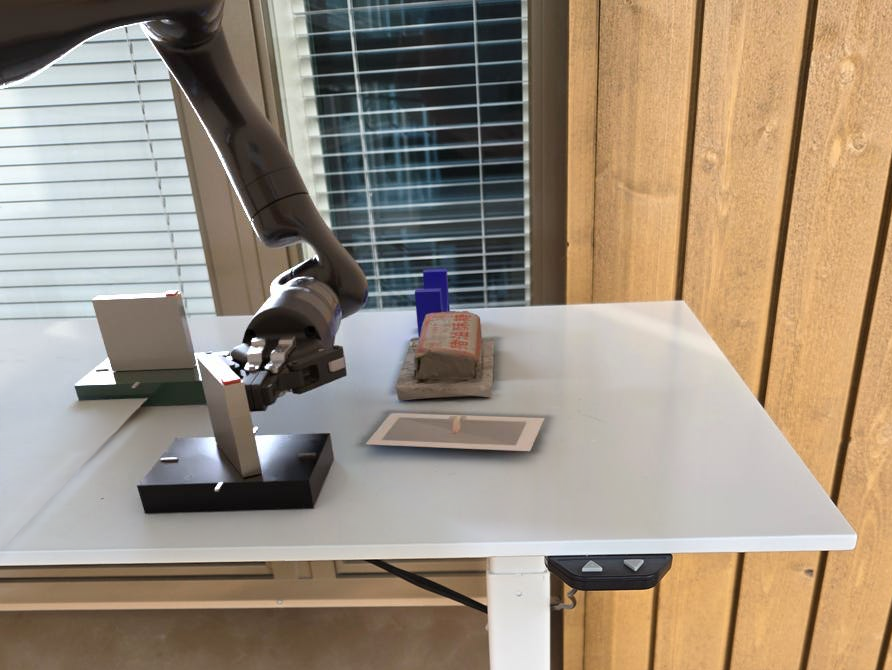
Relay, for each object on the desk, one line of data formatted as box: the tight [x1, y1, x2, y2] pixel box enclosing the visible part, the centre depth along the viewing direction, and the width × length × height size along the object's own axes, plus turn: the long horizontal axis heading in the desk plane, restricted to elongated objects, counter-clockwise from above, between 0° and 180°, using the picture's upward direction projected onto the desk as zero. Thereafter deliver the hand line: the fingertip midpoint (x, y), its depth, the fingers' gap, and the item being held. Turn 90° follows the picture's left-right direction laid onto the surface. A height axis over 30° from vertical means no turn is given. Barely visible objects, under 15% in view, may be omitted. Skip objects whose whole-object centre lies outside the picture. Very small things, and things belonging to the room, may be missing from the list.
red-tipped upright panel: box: [196, 354, 262, 478], centre depth 72 cm, size 9×2×8 cm, turn 28°
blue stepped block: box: [414, 268, 457, 338], centre depth 111 cm, size 12×4×6 cm, turn 178°
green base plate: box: [73, 351, 231, 407], centre depth 97 cm, size 14×13×3 cm
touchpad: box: [365, 412, 545, 452], centre depth 81 cm, size 8×15×2 cm, turn 77°
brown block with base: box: [395, 310, 495, 401], centre depth 97 cm, size 18×5×10 cm
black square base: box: [136, 426, 335, 514], centre depth 75 cm, size 14×13×3 cm
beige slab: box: [91, 290, 197, 371], centre depth 95 cm, size 9×2×8 cm, turn 88°
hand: (253, 399), depth 70 cm, fingers closed
